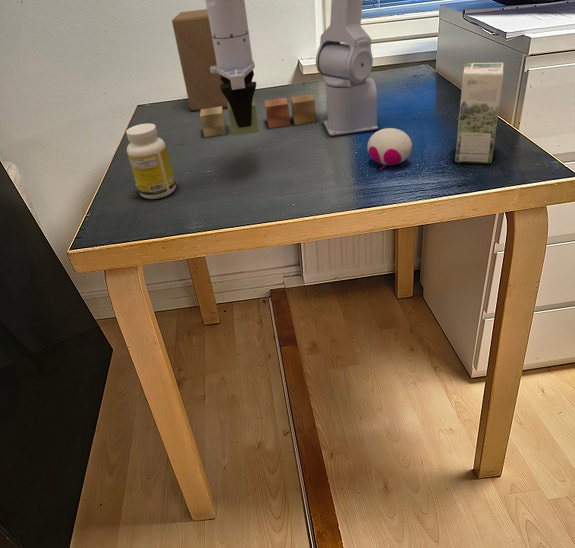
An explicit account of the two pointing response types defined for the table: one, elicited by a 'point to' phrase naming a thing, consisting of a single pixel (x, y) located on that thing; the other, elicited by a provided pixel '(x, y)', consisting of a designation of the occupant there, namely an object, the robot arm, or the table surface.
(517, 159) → the table surface
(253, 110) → the pale green cube
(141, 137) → the pill bottle
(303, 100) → the block line
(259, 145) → the table surface
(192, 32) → the wooden block
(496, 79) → the syrup box
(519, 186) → the table surface
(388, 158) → the stress ball
